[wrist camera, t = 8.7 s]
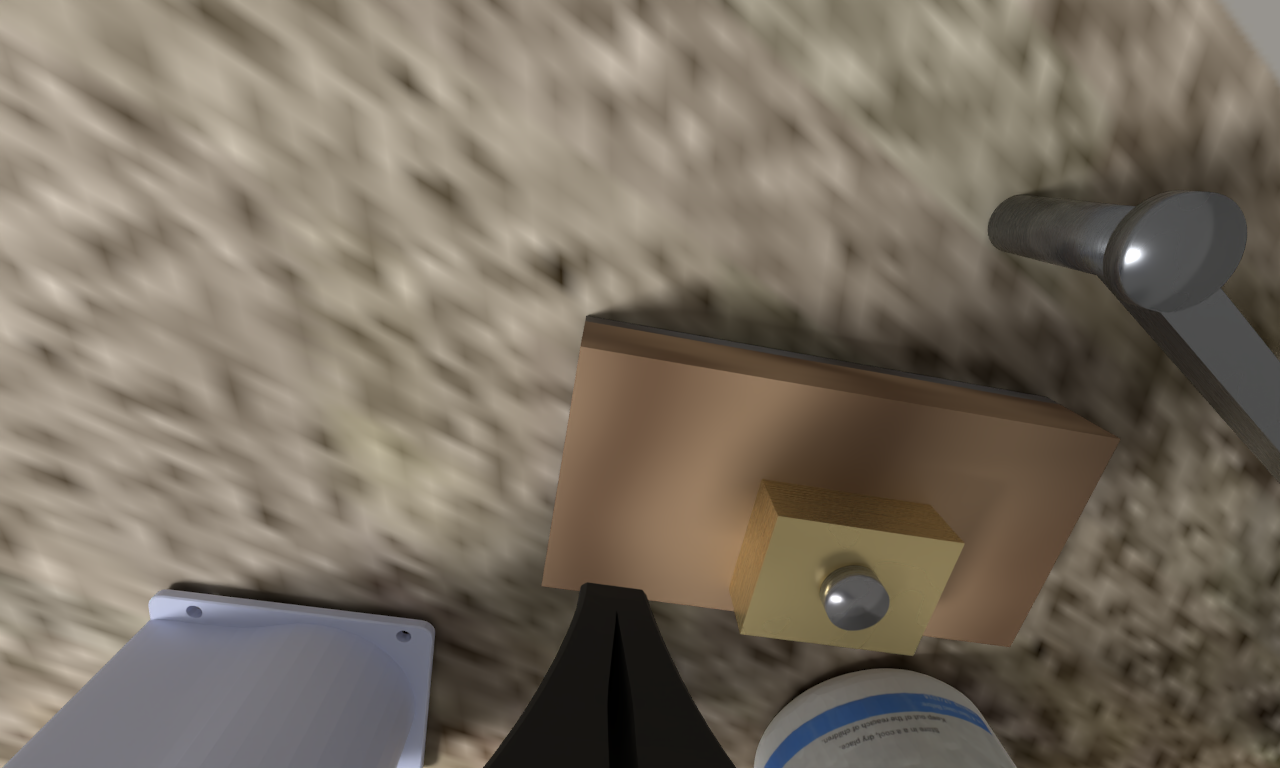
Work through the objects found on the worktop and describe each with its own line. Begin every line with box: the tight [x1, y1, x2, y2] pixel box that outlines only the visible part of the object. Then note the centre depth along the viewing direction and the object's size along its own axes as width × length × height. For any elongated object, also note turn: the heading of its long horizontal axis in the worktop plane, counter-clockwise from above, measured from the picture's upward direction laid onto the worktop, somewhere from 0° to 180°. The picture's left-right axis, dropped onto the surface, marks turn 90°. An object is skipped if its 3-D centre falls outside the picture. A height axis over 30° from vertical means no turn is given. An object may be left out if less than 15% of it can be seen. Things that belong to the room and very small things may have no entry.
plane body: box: [541, 316, 1121, 647], centre depth 18 cm, size 15×8×3 cm, turn 79°
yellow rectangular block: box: [729, 479, 965, 656], centre depth 16 cm, size 5×4×2 cm
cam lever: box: [988, 190, 1280, 484], centre depth 16 cm, size 2×12×6 cm, turn 50°
